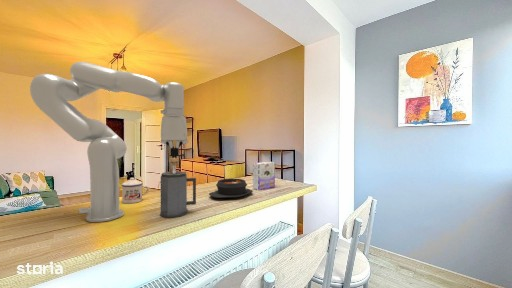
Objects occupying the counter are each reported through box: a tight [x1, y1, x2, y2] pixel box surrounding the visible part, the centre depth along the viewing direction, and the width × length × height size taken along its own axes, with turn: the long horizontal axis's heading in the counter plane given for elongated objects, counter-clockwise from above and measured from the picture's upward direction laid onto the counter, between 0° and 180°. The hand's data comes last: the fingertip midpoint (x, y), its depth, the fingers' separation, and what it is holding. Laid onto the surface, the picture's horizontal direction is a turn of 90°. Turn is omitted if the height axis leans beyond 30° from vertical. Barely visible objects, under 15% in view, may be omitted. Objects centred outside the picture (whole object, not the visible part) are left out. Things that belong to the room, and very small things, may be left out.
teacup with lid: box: [121, 177, 150, 204], centre depth 113 cm, size 12×9×12 cm
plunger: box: [169, 156, 180, 174], centre depth 95 cm, size 8×8×20 cm
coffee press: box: [159, 170, 197, 219], centre depth 96 cm, size 14×11×17 cm
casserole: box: [208, 178, 254, 199], centre depth 125 cm, size 25×19×8 cm
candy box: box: [252, 161, 276, 191], centre depth 144 cm, size 14×6×16 cm, turn 128°
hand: (174, 157), depth 95 cm, fingers closed
